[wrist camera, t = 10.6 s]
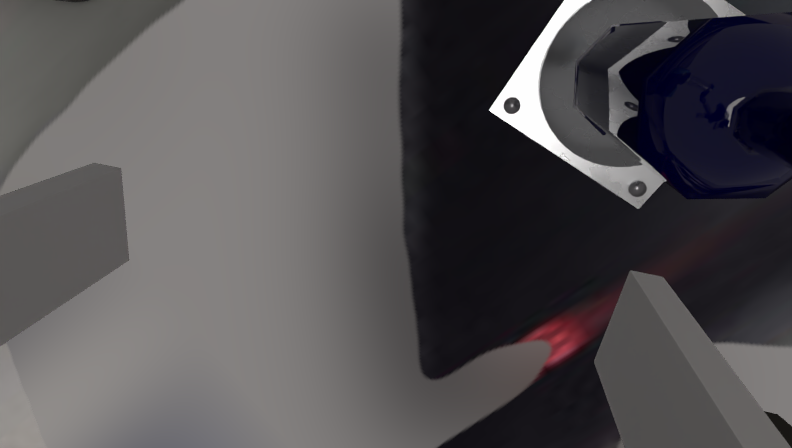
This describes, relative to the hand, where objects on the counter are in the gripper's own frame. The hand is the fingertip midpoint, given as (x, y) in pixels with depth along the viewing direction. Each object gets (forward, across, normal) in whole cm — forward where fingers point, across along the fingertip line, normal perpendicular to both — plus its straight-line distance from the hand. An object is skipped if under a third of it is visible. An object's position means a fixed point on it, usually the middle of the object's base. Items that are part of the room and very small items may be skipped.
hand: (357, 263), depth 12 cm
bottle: (+31, +15, +4) cm, 35 cm away
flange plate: (+33, +15, +4) cm, 36 cm away
